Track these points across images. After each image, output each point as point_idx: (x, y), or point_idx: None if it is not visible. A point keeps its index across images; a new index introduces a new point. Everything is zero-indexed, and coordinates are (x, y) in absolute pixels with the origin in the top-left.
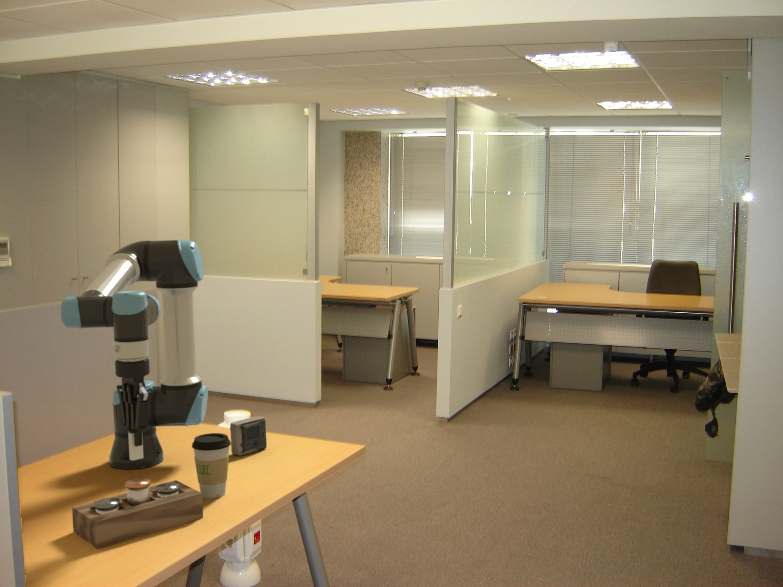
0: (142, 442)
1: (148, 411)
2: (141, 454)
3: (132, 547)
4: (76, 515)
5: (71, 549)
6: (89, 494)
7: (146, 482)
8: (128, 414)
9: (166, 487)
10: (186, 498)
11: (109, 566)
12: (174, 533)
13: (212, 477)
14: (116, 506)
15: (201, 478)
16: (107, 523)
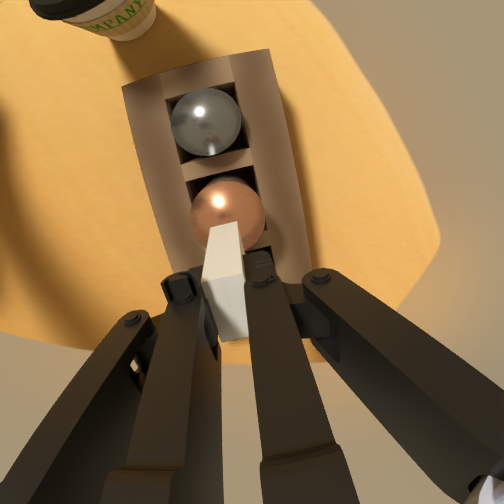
0: (239, 246)
1: (436, 340)
2: (239, 234)
3: (334, 230)
4: None
5: None
6: (26, 255)
7: (247, 196)
8: (221, 422)
9: (214, 127)
10: (279, 92)
11: (380, 275)
12: (315, 142)
13: (149, 1)
14: None
15: (127, 25)
16: None
